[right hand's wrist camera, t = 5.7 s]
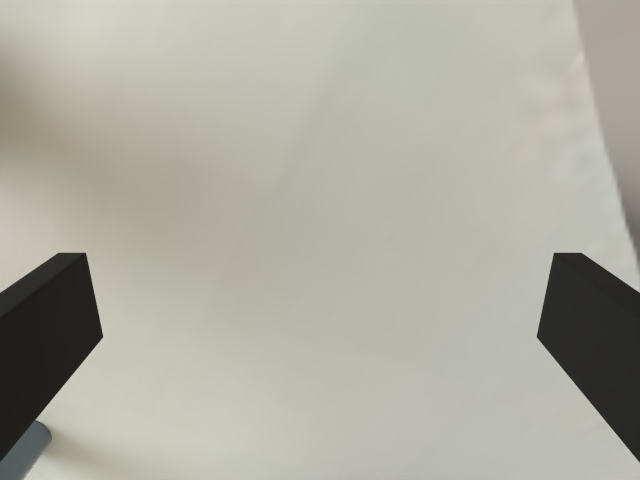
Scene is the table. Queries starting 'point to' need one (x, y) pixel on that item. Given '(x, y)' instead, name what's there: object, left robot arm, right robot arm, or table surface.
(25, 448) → the bottle
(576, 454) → the table surface
